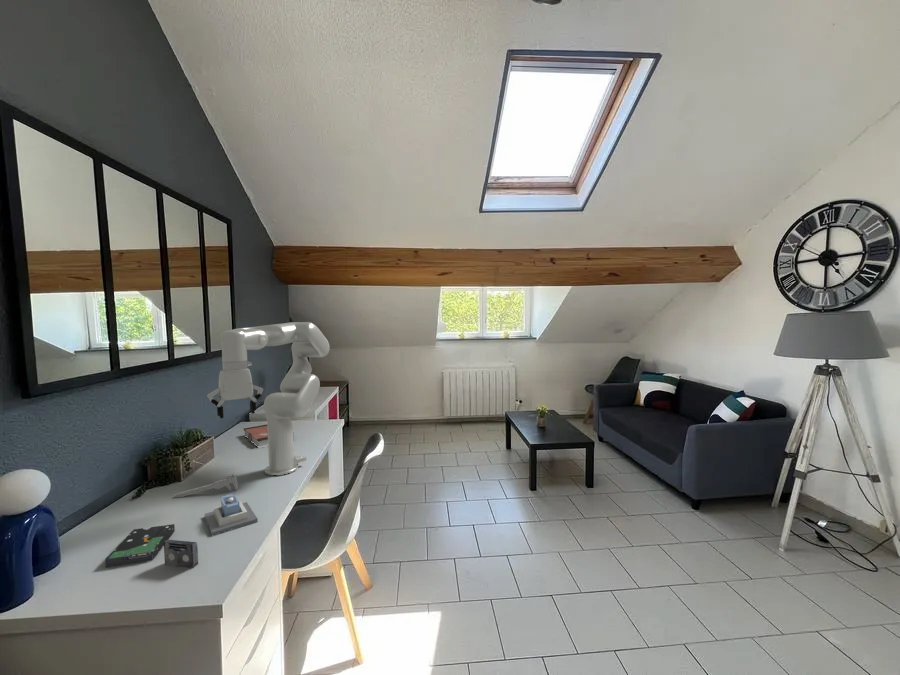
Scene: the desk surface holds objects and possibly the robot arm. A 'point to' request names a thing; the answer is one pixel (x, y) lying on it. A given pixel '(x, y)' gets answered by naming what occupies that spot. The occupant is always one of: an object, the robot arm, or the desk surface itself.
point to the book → (258, 434)
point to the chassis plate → (229, 519)
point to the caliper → (212, 486)
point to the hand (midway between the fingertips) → (237, 415)
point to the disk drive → (140, 546)
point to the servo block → (229, 505)
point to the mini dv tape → (181, 553)
